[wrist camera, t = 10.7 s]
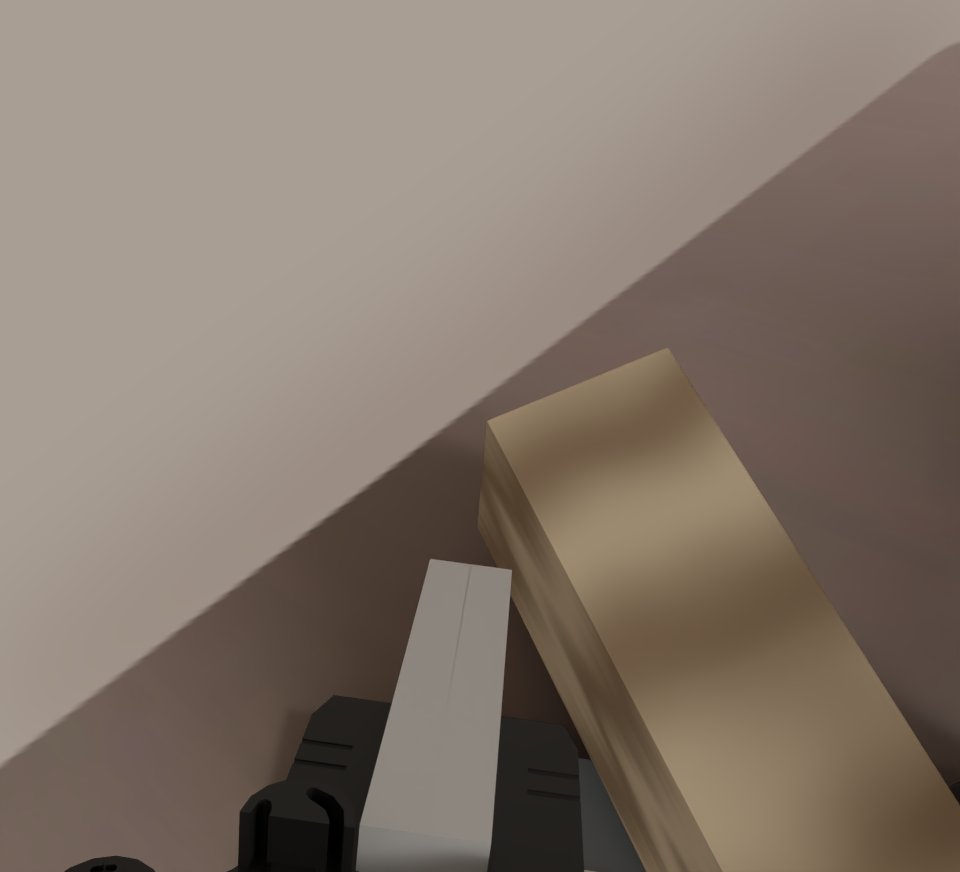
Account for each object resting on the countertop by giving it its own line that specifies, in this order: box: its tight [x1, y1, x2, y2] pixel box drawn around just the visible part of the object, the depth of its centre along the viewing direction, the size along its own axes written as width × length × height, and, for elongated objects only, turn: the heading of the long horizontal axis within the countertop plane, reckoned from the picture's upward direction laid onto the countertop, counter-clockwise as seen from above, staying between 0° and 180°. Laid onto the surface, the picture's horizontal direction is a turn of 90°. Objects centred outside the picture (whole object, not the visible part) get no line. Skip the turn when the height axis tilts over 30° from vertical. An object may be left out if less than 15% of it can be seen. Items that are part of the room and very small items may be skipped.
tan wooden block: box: [477, 348, 960, 872], centre depth 27 cm, size 20×6×9 cm, turn 25°
